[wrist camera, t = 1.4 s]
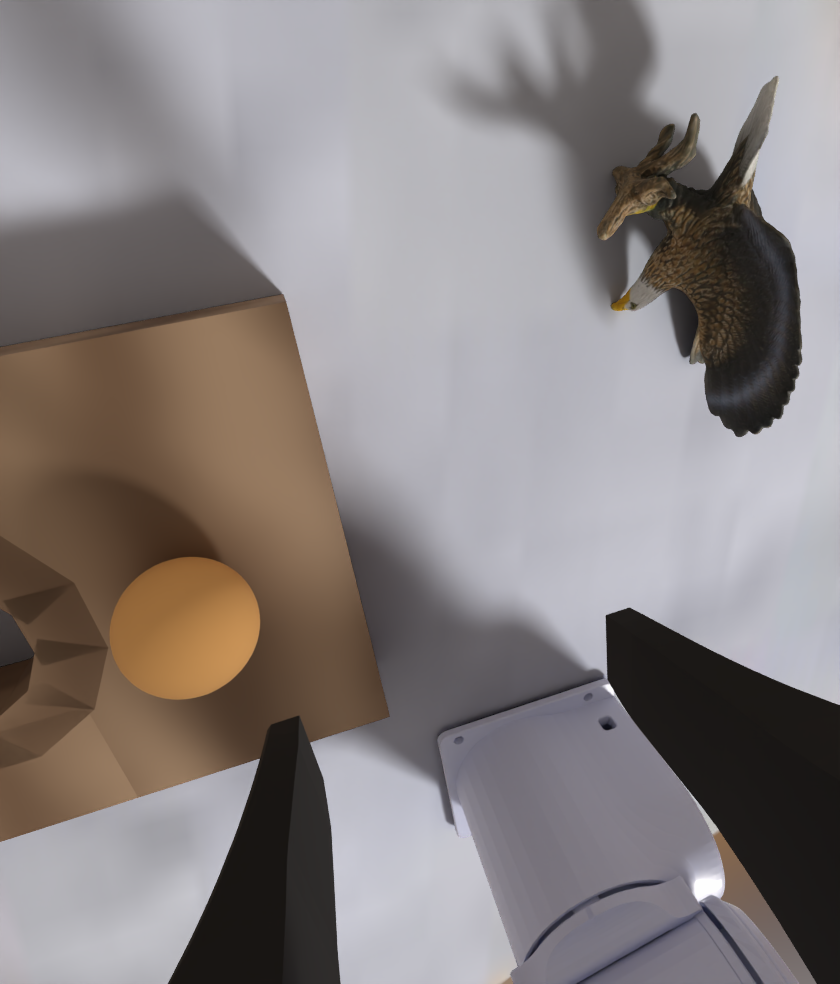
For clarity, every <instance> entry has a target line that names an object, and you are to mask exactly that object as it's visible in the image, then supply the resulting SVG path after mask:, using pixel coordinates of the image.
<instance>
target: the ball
mask: <svg viewBox="0 0 840 984" xmlns="http://www.w3.org/2000/svg"><path fill="white" fill-rule="evenodd" d="M259 630H260V614H259V607H258V603H257V600H256V598H255V595H254V593H253V591H252V589H251V588H250V586H249V585H248V583H247V582H246V581H245V580H244V579H243V577H242V576H241V575H239V574H238V573H237V572H236V571H235V570H233V569H231V568H230V567H228V566H227V565H225V564H223V563H221V562H218V561H215V560H212V559H208V558H202V557H181V558H176V559H171V560H168V561H165V562H162V563H160V564H157V565H155V566H153V567H151V568H150V569H148V570H146V571H145V572H143V573H142V574H141V575H140V576H138V577H137V578H136V579H135V580H134V581H133V582H132V583H131V584H130V585H129V586H128V587H127V588H126V590H125V591H124V592H123V594H122V595H121V597H120V599H119V601H118V603H117V605H116V607H115V609H114V612H113V615H112V619H111V623H110V634H109V636H110V646H111V650H112V655H113V657H114V660H115V662H116V664H117V666H118V668H119V669H120V671H121V672H122V674H123V675H124V676H125V677H126V678H127V679H128V680H129V681H130V682H131V683H132V684H133V685H134V686H136V687H137V688H139V689H140V690H142V691H144V692H146V693H148V694H151V695H153V696H156V697H160V698H165V699H174V700H181V699H191V698H196V697H200V696H203V695H206V694H209V693H211V692H213V691H215V690H217V689H219V688H221V687H222V686H224V685H225V684H227V683H228V682H229V681H231V680H232V679H233V678H234V677H235V676H236V675H237V674H238V673H239V672H240V671H241V670H242V669H243V668H244V666H245V665H246V664H247V662H248V660H249V659H250V657H251V655H252V654H253V651H254V649H255V646H256V644H257V641H258V636H259Z"/></svg>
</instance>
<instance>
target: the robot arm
mask: <svg viewBox="0 0 840 984" xmlns="http://www.w3.org/2000/svg"><path fill="white" fill-rule="evenodd" d="M606 641H607V677H608V679H601V680H598V681H595V682H592V683H589V684H586V685H583V686H580V687H577V688H574V689H571V690H568V691H565V692H562V693H559V694H556V695H553V696H550V697H547V698H544V699H541V700H538V701H535V702H532V703H529V704H526V705H523V706H520V707H517V708H513V709H510V710H507V711H504V712H501V713H498V714H495V715H492V716H489V717H486V718H483V719H480V720H477V721H474V722H471V723H468V724H465V725H462V726H459V727H456V728H453V729H450V730H447V731H445V732H443V733H441V734H440V735H439V737H438V746H439V750H440V755H441V760H442V765H443V770H444V775H445V780H446V785H447V790H448V795H449V800H450V805H451V810H452V815H453V819H454V824H455V829H456V832H457V835H458V837H460V838H466V837H469V836H472V837H473V840H474V843H475V845H476V848H477V851H478V854H479V857H480V860H481V863H482V865H483V868H484V871H485V874H486V877H487V880H488V882H489V885H490V888H491V891H492V894H493V897H494V900H495V902H496V905H497V908H498V911H499V914H500V917H501V920H502V922H503V925H504V928H505V931H506V934H507V937H508V939H509V942H510V945H511V948H512V951H513V954H514V957H515V959H516V962H517V965H518V967H517V968H515V969H514V970H512V971H511V974H510V975H511V978H512V980H513V984H799V982H798V981H797V979H796V978H795V977H794V975H793V974H792V972H791V971H790V970H789V968H788V967H787V965H786V964H785V963H784V961H783V960H782V959H781V957H780V956H779V954H778V953H777V952H776V950H775V949H774V948H773V946H772V945H771V944H770V943H769V941H768V940H767V939H766V938H765V936H764V935H763V934H762V933H761V932H760V930H759V929H758V928H757V926H756V925H755V924H754V923H753V922H752V921H751V920H750V918H748V916H747V915H746V914H745V913H744V912H743V911H742V910H740V909H739V908H738V907H736V906H734V905H732V904H729V903H727V902H724V901H721V899H720V898H721V897H722V895H723V893H724V889H725V878H724V870H723V865H722V861H721V857H720V854H719V851H718V848H717V845H716V842H715V840H714V838H713V835H712V833H711V831H710V829H709V827H708V825H707V823H706V821H705V819H704V817H703V815H702V813H701V812H700V810H699V808H698V807H697V805H696V803H695V801H694V800H693V798H692V797H691V795H690V794H689V792H688V791H687V790H686V788H687V789H688V790H689V791H690V793H691V794H692V795H693V796H694V798H695V799H696V800H697V801H698V803H699V804H700V805H701V806H702V808H703V809H704V810H705V812H706V813H707V814H708V816H709V817H710V818H711V820H712V821H713V822H714V824H715V825H716V826H717V828H718V829H719V831H720V832H721V833H722V835H723V837H724V838H725V840H726V841H727V843H728V844H729V846H730V847H731V848H732V850H733V851H734V853H735V855H736V856H737V858H738V859H739V861H740V862H741V863H742V865H743V866H744V868H745V869H746V871H747V873H748V874H749V876H750V877H751V879H752V880H753V882H754V883H755V885H756V886H757V888H758V889H759V891H760V893H761V894H762V896H763V897H764V899H765V900H766V902H767V904H768V905H769V907H770V908H771V910H772V911H773V913H774V914H775V916H776V918H777V919H778V921H779V922H780V924H781V926H782V927H783V929H784V931H785V932H786V934H787V935H788V937H789V938H790V940H791V942H792V944H793V945H794V947H795V949H796V950H797V952H798V953H799V955H800V957H801V958H802V960H803V962H804V963H805V965H806V966H807V968H808V970H809V971H810V973H811V975H812V976H813V978H814V979H815V981H816V983H817V984H840V705H837V704H835V703H832V702H829V701H827V700H824V699H821V698H819V697H816V696H813V695H811V694H808V693H806V692H803V691H800V690H798V689H795V688H793V687H790V686H788V685H785V684H783V683H780V682H778V681H776V680H774V679H771V678H769V677H767V676H765V675H762V674H760V673H758V672H756V671H753V670H751V669H749V668H747V667H744V666H742V665H740V664H738V663H736V662H734V661H732V660H730V659H728V658H726V657H724V656H722V655H719V654H717V653H715V652H713V651H711V650H709V649H707V648H706V647H704V646H702V645H700V644H698V643H696V642H694V641H692V640H690V639H688V638H686V637H684V636H682V635H680V634H679V633H677V632H675V631H673V630H671V629H669V628H667V627H665V626H663V625H662V624H660V623H658V622H656V621H654V620H652V619H650V618H649V617H647V616H645V615H643V614H641V613H639V612H637V611H635V610H633V609H631V608H627V609H624V610H621V611H618V612H615V613H611V614H608V615H606ZM614 692H615V693H616V695H617V697H618V698H619V700H620V702H621V703H622V705H623V706H624V708H625V709H626V711H627V712H626V711H625V710H624V708H623V707H622V706H621V705H620V703H619V702H618V701H617V699H616V698H615V697H614ZM627 713H628V714H629V715H628V714H627ZM459 736H460V737H459ZM457 737H458V738H457ZM659 754H660V755H661V756H660V755H659ZM663 759H664V760H665V761H664V760H663ZM667 764H668V765H669V766H668V765H667ZM670 768H671V769H672V770H673V771H672V770H671V769H670ZM674 773H675V774H676V775H677V776H676V775H675V774H674ZM677 777H678V778H679V779H680V780H681V781H682V783H683V784H684V785H685V786H686V788H685V787H684V785H683V784H682V783H681V781H680V780H679V779H678V778H677ZM168 984H341V983H340V974H339V962H338V950H337V931H336V912H335V892H334V872H333V854H332V836H331V825H330V818H329V811H328V805H327V798H326V792H325V786H324V780H323V777H322V774H321V771H320V769H319V766H318V763H317V761H316V758H315V755H314V753H313V750H312V747H311V745H310V742H309V739H308V737H307V734H306V731H305V729H304V726H303V723H302V721H301V718H300V715H298V716H295V717H292V718H289V719H286V720H283V721H280V722H277V723H274V724H271V725H270V727H269V728H268V730H267V733H266V737H265V742H264V746H263V749H262V753H261V757H260V761H259V764H258V768H257V771H256V774H255V778H254V781H253V784H252V788H251V791H250V794H249V797H248V800H247V803H246V806H245V808H244V811H243V814H242V817H241V820H240V823H239V826H238V829H237V832H236V834H235V837H234V840H233V842H232V845H231V847H230V850H229V852H228V855H227V857H226V860H225V862H224V865H223V867H222V870H221V872H220V875H219V877H218V880H217V882H216V885H215V887H214V889H213V891H212V894H211V896H210V898H209V901H208V903H207V905H206V907H205V910H204V912H203V914H202V916H201V918H200V920H199V922H198V925H197V927H196V929H195V931H194V933H193V935H192V937H191V939H190V941H189V943H188V945H187V947H186V949H185V951H184V953H183V955H182V957H181V959H180V961H179V963H178V965H177V967H176V969H175V971H174V973H173V975H172V977H171V979H170V981H169V983H168Z"/></svg>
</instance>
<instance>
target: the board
mask: <svg viewBox="0 0 840 984" xmlns="http://www.w3.org/2000/svg"><path fill="white" fill-rule="evenodd" d="M181 557H202V558H208V559H212V560H215V561H218V562H221V563H223V564H225V565H227V566H228V567H230V568H231V569H233V570H235V571H236V572H237V573H238V574H239V575H241V576H242V577H243V579H244V580H245V581H246V582H247V583H248V585H249V586H250V588H251V589H252V591H253V593H254V595H255V598H256V600H257V603H258V607H259V614H260V630H259V636H258V641H257V644H256V646H255V649H254V651H253V654H252V655H251V657H250V659H249V660H248V662H247V664H246V665H245V666H244V668H243V669H242V670H241V671H240V672H239V673H238V674H237V675H236V676H235V677H234V678H233V679H232V680H231V681H229V682H228V683H227V684H225V685H224V686H222V687H221V688H219V689H217V690H215V691H213V692H211V693H209V694H206V695H203V696H200V697H196V698H191V699H181V700H174V699H165V698H160V697H156V696H153V695H151V694H148V693H146V692H144V691H142V690H140V689H139V688H137V687H136V686H134V685H133V684H132V683H131V682H130V681H129V680H128V679H127V678H126V677H125V676H124V675H123V674H122V672H121V671H120V669H119V668H118V666H117V664H116V662H115V660H114V657H113V655H112V650H111V646H110V636H109V634H110V623H111V619H112V615H113V612H114V609H115V607H116V605H117V603H118V601H119V599H120V597H121V595H122V594H123V592H124V591H125V590H126V588H127V587H128V586H129V585H130V584H131V583H132V582H133V581H134V580H135V579H136V578H137V577H138V576H140V575H141V574H142V573H143V572H145V571H146V570H148V569H150V568H151V567H153V566H155V565H157V564H160V563H162V562H165V561H168V560H171V559H176V558H181ZM0 609H1V610H3V611H5V612H7V613H8V614H10V615H12V617H13V618H14V620H15V622H16V623H17V625H18V627H19V628H20V630H21V632H22V633H23V635H24V637H25V638H26V640H27V642H28V643H29V645H30V646H31V648H32V650H33V651H34V653H35V654H34V656H33V657H32V658H31V659H28V660H25V661H21V662H17V663H14V664H10V665H6V666H3V667H0V842H1V841H5V840H8V839H11V838H14V837H17V836H20V835H23V834H26V833H29V832H33V831H36V830H39V829H42V828H45V827H48V826H51V825H54V824H57V823H61V822H64V821H67V820H70V819H73V818H76V817H79V816H82V815H85V814H89V813H92V812H95V811H98V810H101V809H104V808H107V807H110V806H113V805H117V804H120V803H123V802H126V801H129V800H132V799H135V798H138V797H141V796H145V795H148V794H151V793H154V792H157V791H160V790H163V789H166V788H169V787H173V786H176V785H179V784H182V783H185V782H188V781H191V780H194V779H197V778H201V777H204V776H207V775H210V774H213V773H216V772H219V771H222V770H225V769H229V768H232V767H235V766H238V765H241V764H244V763H247V762H250V761H253V760H257V759H260V757H261V753H262V749H263V746H264V742H265V737H266V733H267V730H268V728H269V727H270V725H271V724H274V723H277V722H280V721H283V720H286V719H289V718H292V717H295V716H298V715H300V718H301V721H302V723H303V726H304V729H305V731H306V734H307V737H308V739H309V742H313V741H316V740H319V739H322V738H325V737H328V736H331V735H334V734H337V733H341V732H344V731H347V730H350V729H353V728H356V727H359V726H362V725H365V724H369V723H372V722H375V721H378V720H381V719H384V718H387V717H390V715H389V711H388V707H387V703H386V699H385V695H384V691H383V687H382V683H381V679H380V675H379V671H378V667H377V663H376V659H375V655H374V651H373V647H372V643H371V639H370V635H369V631H368V627H367V623H366V619H365V615H364V611H363V607H362V603H361V599H360V595H359V591H358V587H357V583H356V579H355V575H354V571H353V567H352V563H351V559H350V555H349V551H348V547H347V543H346V539H345V535H344V531H343V527H342V523H341V519H340V515H339V511H338V507H337V503H336V499H335V495H334V491H333V487H332V483H331V479H330V475H329V471H328V467H327V463H326V459H325V455H324V451H323V447H322V443H321V439H320V435H319V431H318V427H317V423H316V419H315V415H314V411H313V407H312V403H311V399H310V395H309V391H308V387H307V383H306V379H305V375H304V371H303V367H302V363H301V359H300V355H299V351H298V347H297V343H296V339H295V335H294V331H293V327H292V323H291V319H290V315H289V312H288V308H287V304H286V300H285V298H284V295H283V294H281V295H276V296H270V297H265V298H260V299H254V300H249V301H243V302H238V303H233V304H227V305H222V306H217V307H211V308H206V309H201V310H195V311H190V312H185V313H179V314H174V315H169V316H163V317H158V318H153V319H147V320H142V321H137V322H131V323H126V324H121V325H115V326H110V327H105V328H99V329H94V330H89V331H83V332H78V333H73V334H67V335H62V336H57V337H51V338H46V339H41V340H35V341H30V342H25V343H19V344H14V345H9V346H3V347H0Z"/></svg>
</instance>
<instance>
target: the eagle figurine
mask: <svg viewBox="0 0 840 984" xmlns="http://www.w3.org/2000/svg"><path fill="white" fill-rule="evenodd" d="M778 83H779V78H778V76H775V77H774V78H773V79H772V80H771V81H770V82H768V83H767V84H765V85H764V86H763V87H762V89H761V91H760V93H759V96H758V98H757V100H756V103H755V105H754V107H753V109H752V110H751V112H750V114H749V116H748V118H747V120H746V121H745V123H744V125H743V126H742V128H741V130H740V132H739V135H738V138H737V141H736V144H735V147H734V151H733V155H732V157H731V158H730V160H729V162H728V163H727V165H726V166H725V168H724V170H723V172H722V173H721V175H720V176H719V178H718V179H717V181H716V182H715V183H714V185H713V186H712V187H711V188H710V189H709V190H695V189H694V188H692V187H690V188H687V186H683V185H681V184H680V183H677V182H676V181H675V179H674V178H672V177H671V178H667V175H669V174H670V173H671V172H673V171H674V170H678V169H680V168H682V167H683V166H685V165H687V164H688V163H689V162H690V161H691V160H692V159H693V158H694V157H695V155H696V143H697V139H698V133H699V128H700V119H699V117H698V115H697V114H696V113H694V114H692V115H691V118H690V121H689V125H688V129H687V132H686V135H685V138H684V139H683V140H682V141H681V142H680V144H679V145H677V146H676V147H675V148H673V149H672V150H670V151H669V152H668V153H666V154H665V155H663V154H664V152H665V151H666V150H667V148H668V147H669V145H670V144H671V142H672V138H673V134H674V130H675V125H674V124H669V125H667V126H665V127H664V128H663V129H662V130H661V132H660V135H659V139H658V143H657V145H656V146H655V147H654V148H652V149H651V150H650V151H649V153H648V154H647V156H646V158H645V159H643V160H642V161H641V162H640V164H639V165H638V166H637V167H633V168H628V167H624V166H619V167H616V168H615V169H614V170H613V172H612V174H613V176H614V178H615V180H616V183H617V185H616V187H615V192H616V195H617V196H616V198H615V200H614V201H613V203H612V205H611V206H610V208H609V210H608V211H607V213H606V214H605V216H604V218H603V219H602V221H601V222H600V224H599V225H598V227H597V235H598V238H599V239H601V240H607V239H608V238H609V237H611V236H612V235H613V234H614V233H615V231H616V230H617V229H618V227H619V226H620V225H621V224H622V223H623V220H624V218H625V217H626V216H627V215H631V214H639V213H644V212H647V213H648V215H650V216H652V217H653V218H654V219H657V220H663V221H664V223H665V225H666V227H667V235H666V237H665V238H664V239H663V240H662V242H661V243H660V245H659V246H658V247H657V248H656V249H655V251H654V252H653V254H652V255H651V257H650V259H649V260H648V262H647V264H646V266H645V268H644V270H643V272H642V273H641V275H640V276H639V278H638V280H637V281H636V282H635V284H634V285H633V286H632V287H631V288H630V289H629V290H628V292H627V293H626V295H625V296H623V297H622V298H621V299H620V300H619V301H617V302H615V303H613V304H612V305H611V307H612V309H613V310H615V311H622V310H631V311H636V310H638V309H641V308H643V307H644V306H646V305H648V304H649V303H650V302H652V301H653V300H655V299H656V298H657V297H658V296H660V295H661V294H663V293H664V292H666V291H668V290H669V289H671V288H677V289H679V290H681V291H683V292H684V293H685V294H686V295H687V297H688V298H689V299H690V301H691V302H692V303H693V305H694V307H695V309H696V311H697V314H698V327H697V330H696V334H695V338H694V341H693V346H692V349H691V353H690V361H689V362H690V364H695V363H696V362H697V361H698V362H699V363H701V364H703V363H705V365H706V372H705V378H704V382H705V394H706V400H707V403H708V407H709V410H710V412H711V413H712V414H713V415H715V416H720V419H721V421H722V423H723V425H724V426H725V427H726V428H728V429H731V430H733V431H734V433H735V435H736V436H737V437H742V436H744V435H746V434H747V432H748V431H750V432H751V433H753V434H758V433H760V432H761V430H762V429H763V428H768V427H771V425H772V423H773V420H774V419H775V418H776V419H781V417H782V415H783V410H784V405H787V404H788V403H789V400H790V394H791V392H793V391H794V390H795V380H796V379H797V378H798V376H799V369H798V366H799V365H800V364H801V363H802V355H801V349H802V336H801V330H800V329H801V319H800V303H801V301H800V291H799V287H798V281H797V268H796V263H795V255H794V253H793V251H792V248H791V244H790V242H789V240H788V239H787V238H786V237H785V236H784V235H783V234H782V233H781V232H779V231H778V230H776V229H775V228H774V227H773V226H772V225H770V224H769V223H767V222H766V221H765V220H764V218H763V216H762V212H761V208H760V206H759V204H758V201H757V198H756V197H755V194H754V191H753V189H752V186H753V181H754V177H755V170H756V165H757V160H758V155H759V151H760V148H761V146H762V144H763V142H764V140H765V138H766V136H767V134H768V128H769V122H770V120H771V116H772V111H773V106H774V98H775V95H776V90H777V87H778ZM662 155H663V156H662Z"/></svg>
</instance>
